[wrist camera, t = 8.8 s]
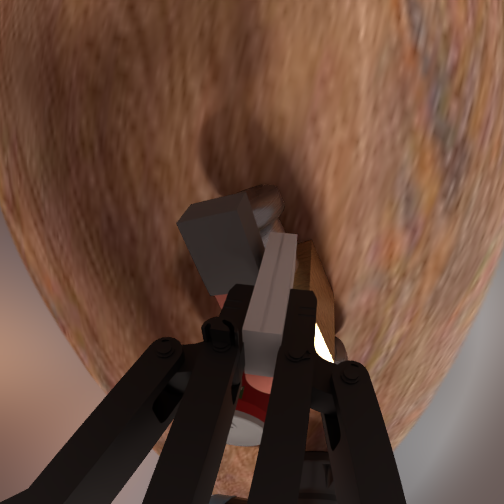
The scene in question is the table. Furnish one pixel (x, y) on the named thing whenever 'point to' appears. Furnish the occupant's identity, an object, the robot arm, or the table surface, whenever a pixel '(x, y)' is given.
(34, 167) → the table surface
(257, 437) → the canned food
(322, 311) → the valve pipe
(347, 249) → the table surface
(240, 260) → the lever
